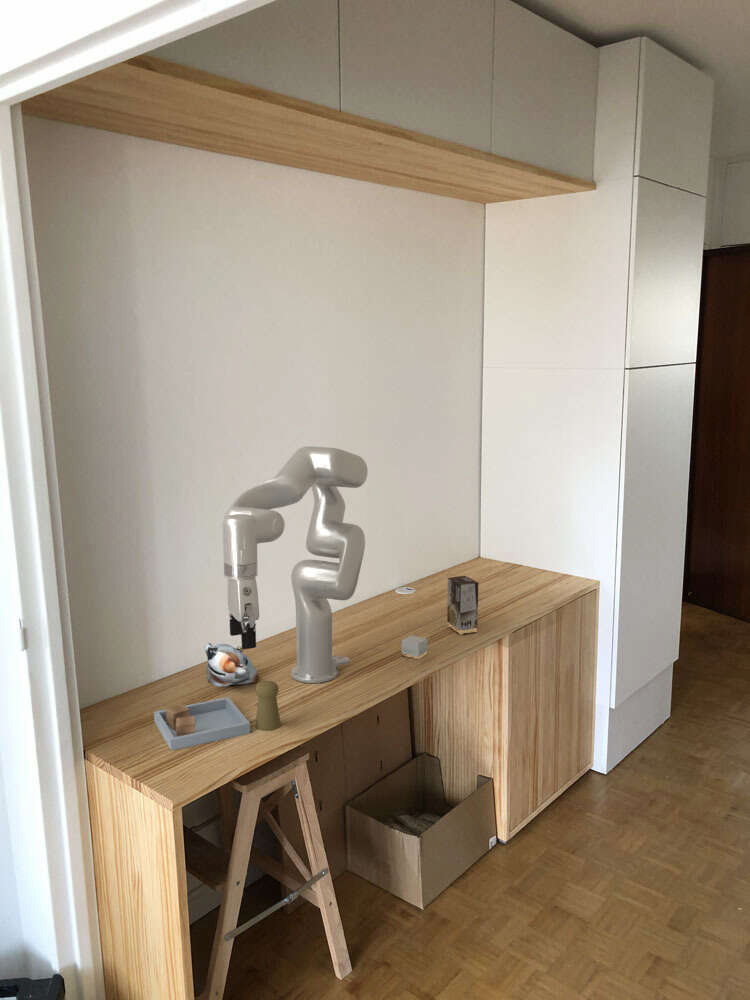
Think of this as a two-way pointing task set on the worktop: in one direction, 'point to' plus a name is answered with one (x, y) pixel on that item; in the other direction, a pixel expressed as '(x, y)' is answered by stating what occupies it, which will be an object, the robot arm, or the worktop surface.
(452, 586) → the coffee box
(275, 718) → the cork
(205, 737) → the tray
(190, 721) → the walnut block
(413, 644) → the small box
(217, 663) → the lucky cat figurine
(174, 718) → the walnut block
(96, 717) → the worktop surface
